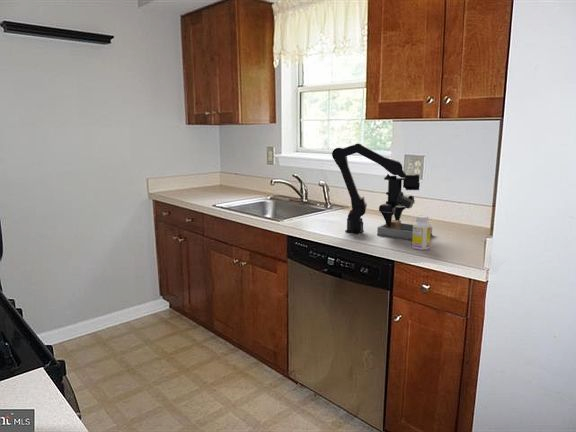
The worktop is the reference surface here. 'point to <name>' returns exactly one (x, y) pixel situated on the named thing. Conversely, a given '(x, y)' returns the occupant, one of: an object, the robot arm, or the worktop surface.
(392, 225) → the walnut cube
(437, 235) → the worktop surface
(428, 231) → the supplement bottle
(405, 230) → the box
